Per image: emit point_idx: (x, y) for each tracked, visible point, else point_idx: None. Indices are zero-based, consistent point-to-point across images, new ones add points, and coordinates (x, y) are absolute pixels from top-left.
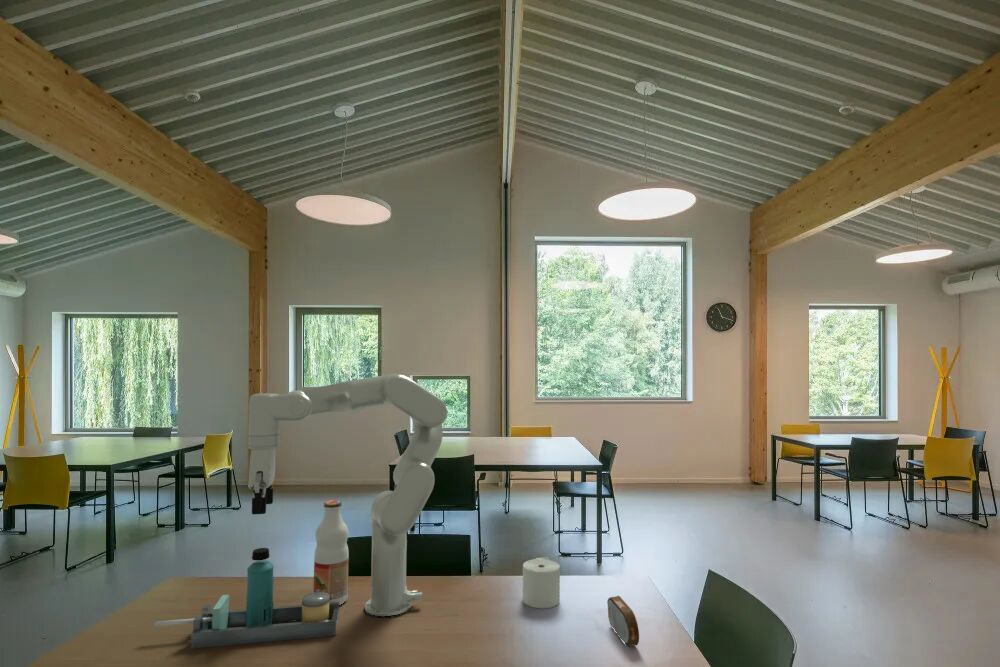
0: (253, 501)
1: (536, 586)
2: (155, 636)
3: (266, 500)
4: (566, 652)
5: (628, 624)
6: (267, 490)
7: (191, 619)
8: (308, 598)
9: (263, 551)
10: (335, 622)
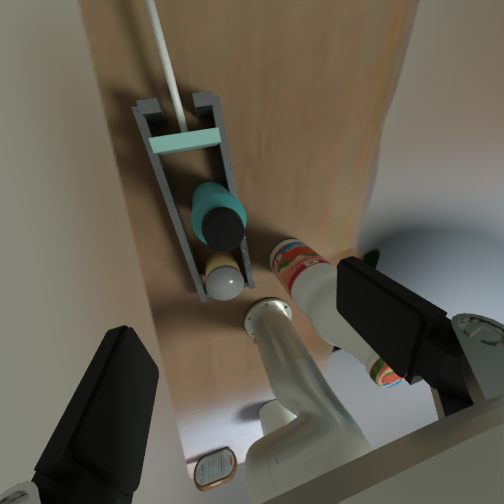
0: (69, 427)
1: (264, 430)
2: (170, 4)
3: (349, 301)
4: (189, 437)
5: (195, 483)
6: (402, 354)
7: (169, 82)
8: (220, 277)
9: (212, 245)
10: (201, 302)
